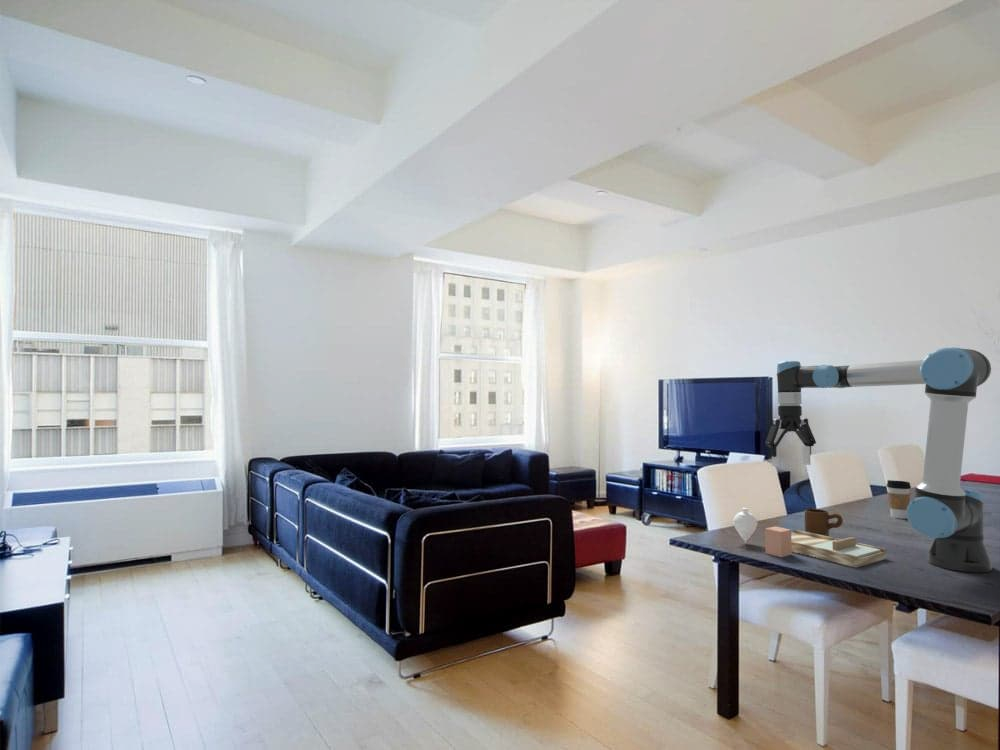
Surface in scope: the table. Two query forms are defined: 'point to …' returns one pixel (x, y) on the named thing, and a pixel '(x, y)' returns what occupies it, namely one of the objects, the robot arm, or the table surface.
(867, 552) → the lid
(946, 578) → the table surface
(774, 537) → the block
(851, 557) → the beige flat rectangular tray
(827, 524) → the mug
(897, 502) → the coffee cup
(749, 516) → the spinning top
